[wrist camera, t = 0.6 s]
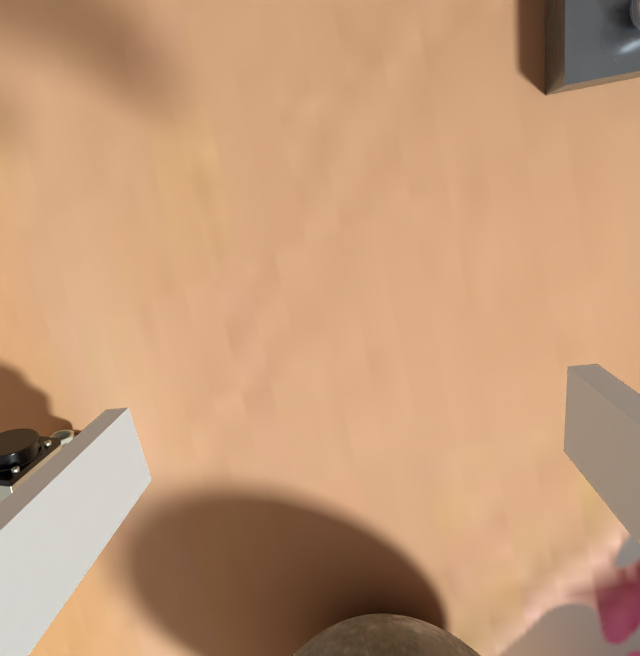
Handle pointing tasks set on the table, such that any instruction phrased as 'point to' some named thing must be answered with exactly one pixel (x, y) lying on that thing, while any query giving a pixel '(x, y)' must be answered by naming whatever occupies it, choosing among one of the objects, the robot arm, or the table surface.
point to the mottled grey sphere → (384, 638)
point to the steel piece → (635, 12)
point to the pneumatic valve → (26, 455)
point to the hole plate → (589, 44)
